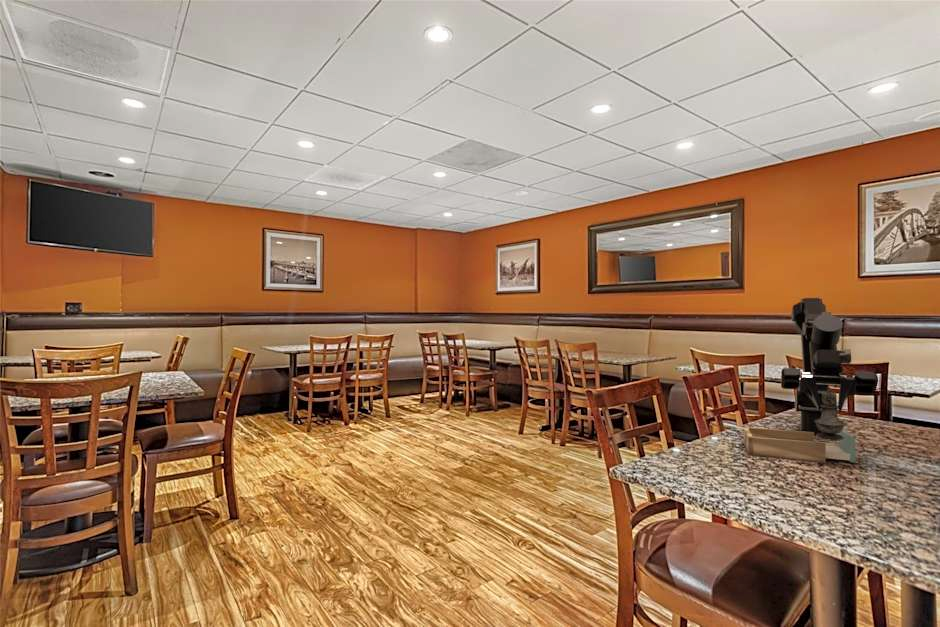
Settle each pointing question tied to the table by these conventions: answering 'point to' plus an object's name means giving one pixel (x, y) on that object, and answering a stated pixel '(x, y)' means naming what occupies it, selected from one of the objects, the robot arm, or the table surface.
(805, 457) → the dock
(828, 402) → the grey tall tapered piece
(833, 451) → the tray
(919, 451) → the table surface
